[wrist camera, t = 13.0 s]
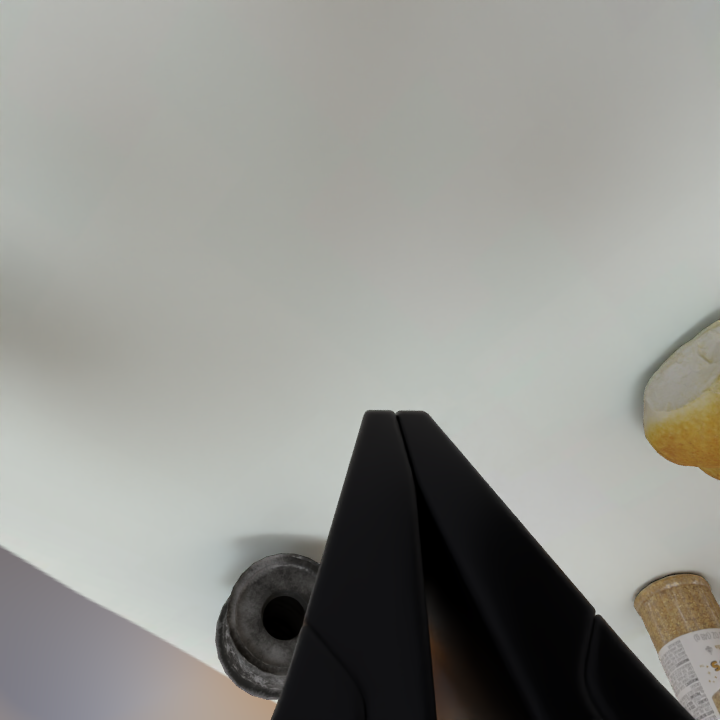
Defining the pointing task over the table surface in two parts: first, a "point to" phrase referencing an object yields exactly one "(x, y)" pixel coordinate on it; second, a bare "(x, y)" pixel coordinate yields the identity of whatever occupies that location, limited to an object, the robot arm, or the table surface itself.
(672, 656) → the sprinkles bottle
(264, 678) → the grey turned piece
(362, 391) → the table surface
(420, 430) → the robot arm
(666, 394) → the bread roll
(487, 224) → the table surface
